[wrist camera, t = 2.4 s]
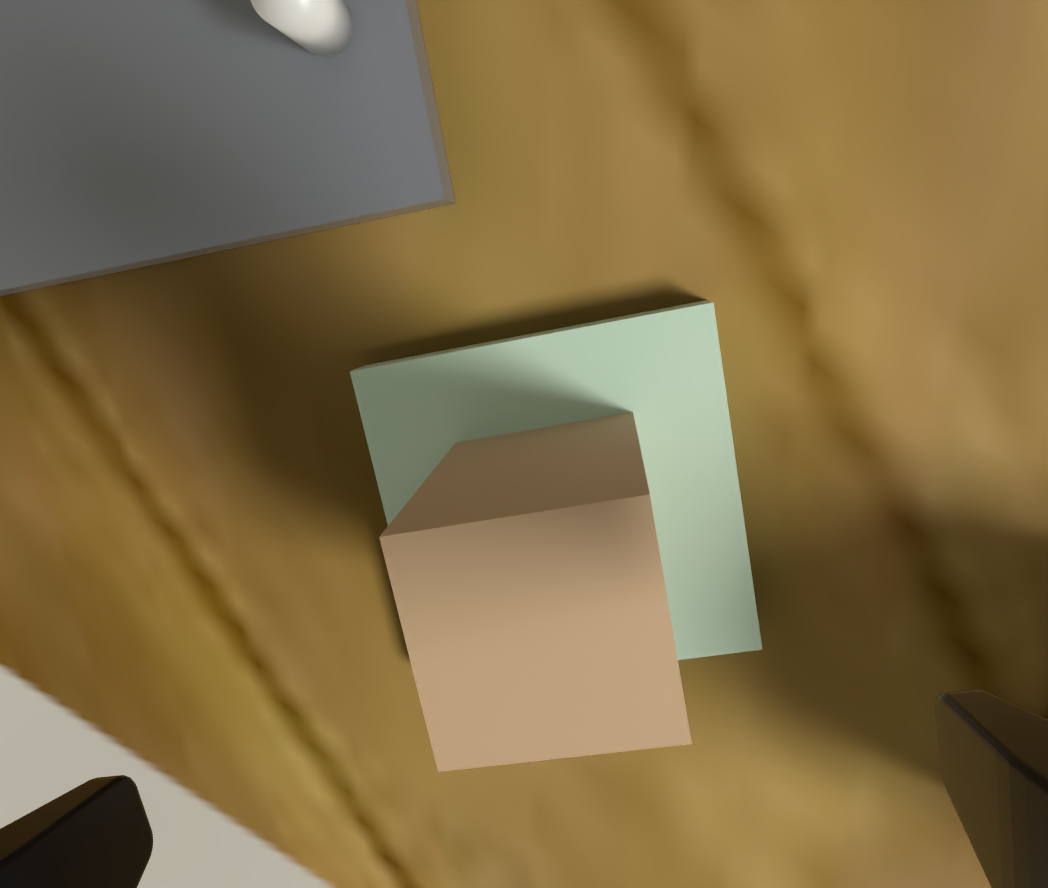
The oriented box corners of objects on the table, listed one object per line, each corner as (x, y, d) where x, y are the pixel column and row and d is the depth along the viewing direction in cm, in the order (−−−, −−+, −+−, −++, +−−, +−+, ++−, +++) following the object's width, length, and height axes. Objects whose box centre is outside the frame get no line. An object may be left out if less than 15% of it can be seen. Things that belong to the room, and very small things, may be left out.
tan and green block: (752, 625, 19) (842, 844, 12) (439, 666, 20) (349, 887, 13) (705, 299, 17) (778, 325, 10) (365, 364, 18) (216, 429, 11)
